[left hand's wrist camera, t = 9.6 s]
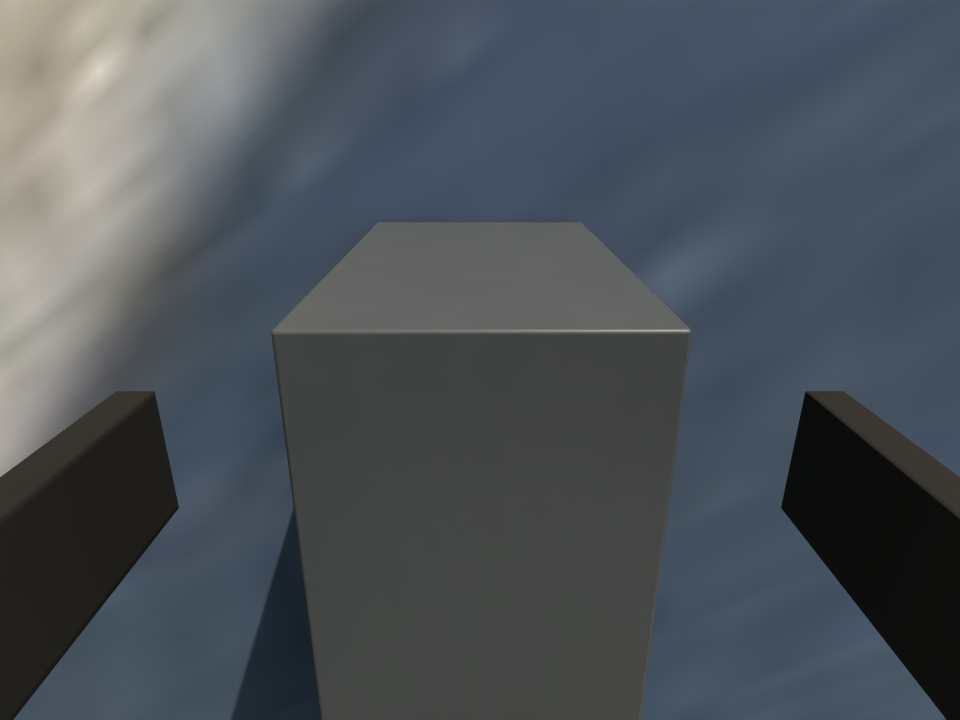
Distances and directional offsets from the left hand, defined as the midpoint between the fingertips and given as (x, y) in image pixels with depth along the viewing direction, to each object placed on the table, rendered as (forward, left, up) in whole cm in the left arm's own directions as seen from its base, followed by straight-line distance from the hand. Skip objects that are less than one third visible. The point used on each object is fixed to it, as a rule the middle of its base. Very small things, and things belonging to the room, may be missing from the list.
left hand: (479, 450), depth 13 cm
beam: (+15, +26, -4) cm, 31 cm away
